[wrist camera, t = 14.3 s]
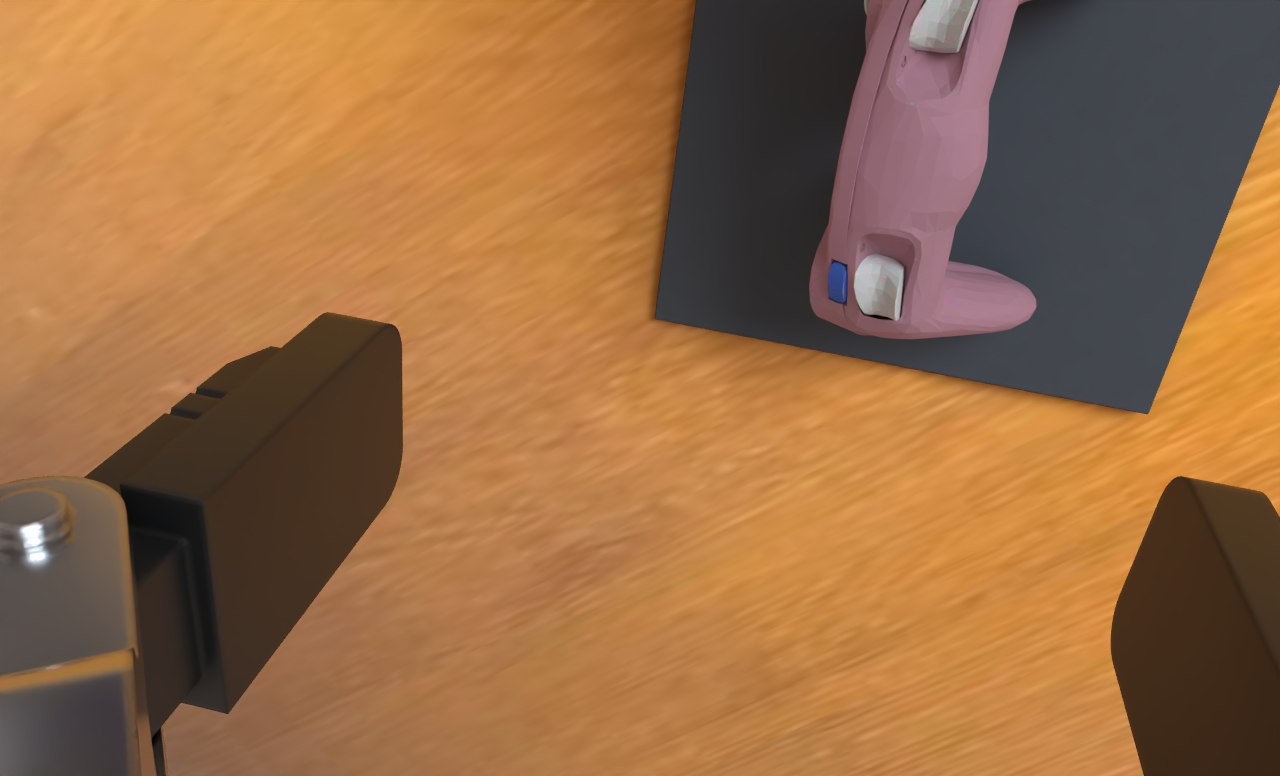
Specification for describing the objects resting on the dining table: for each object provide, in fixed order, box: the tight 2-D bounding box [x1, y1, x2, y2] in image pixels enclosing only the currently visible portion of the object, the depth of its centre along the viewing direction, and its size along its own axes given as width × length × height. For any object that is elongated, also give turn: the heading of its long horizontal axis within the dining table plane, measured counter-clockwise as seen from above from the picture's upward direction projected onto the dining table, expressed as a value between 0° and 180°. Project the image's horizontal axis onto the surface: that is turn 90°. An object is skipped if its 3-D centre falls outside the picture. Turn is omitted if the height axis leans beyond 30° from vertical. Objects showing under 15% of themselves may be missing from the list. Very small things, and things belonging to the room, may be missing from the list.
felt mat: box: [655, 0, 1280, 414], centre depth 27 cm, size 14×14×1 cm
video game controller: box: [809, 0, 1036, 339], centre depth 24 cm, size 10×5×7 cm, turn 174°
